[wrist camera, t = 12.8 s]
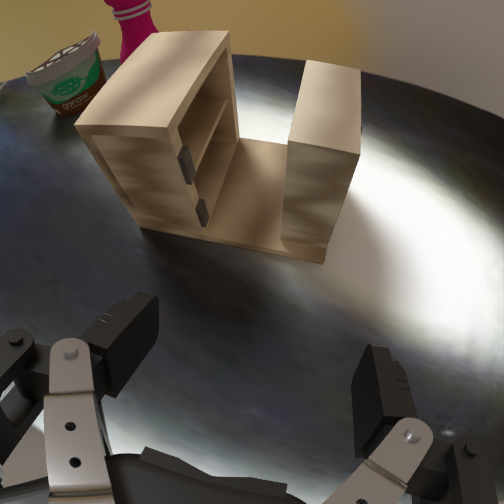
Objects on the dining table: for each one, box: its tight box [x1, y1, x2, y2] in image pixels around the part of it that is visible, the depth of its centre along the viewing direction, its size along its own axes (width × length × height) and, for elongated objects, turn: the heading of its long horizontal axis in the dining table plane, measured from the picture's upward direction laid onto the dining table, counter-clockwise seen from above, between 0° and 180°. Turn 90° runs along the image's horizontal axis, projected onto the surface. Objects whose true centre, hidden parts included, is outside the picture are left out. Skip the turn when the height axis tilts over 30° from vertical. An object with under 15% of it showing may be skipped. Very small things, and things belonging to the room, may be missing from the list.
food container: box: [25, 30, 107, 117], centre depth 35 cm, size 12×6×10 cm, turn 125°
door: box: [280, 60, 362, 248], centre depth 23 cm, size 5×9×12 cm, turn 167°
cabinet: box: [74, 31, 326, 264], centre depth 25 cm, size 18×12×14 cm
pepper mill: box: [104, 0, 159, 65], centre depth 31 cm, size 7×7×20 cm
